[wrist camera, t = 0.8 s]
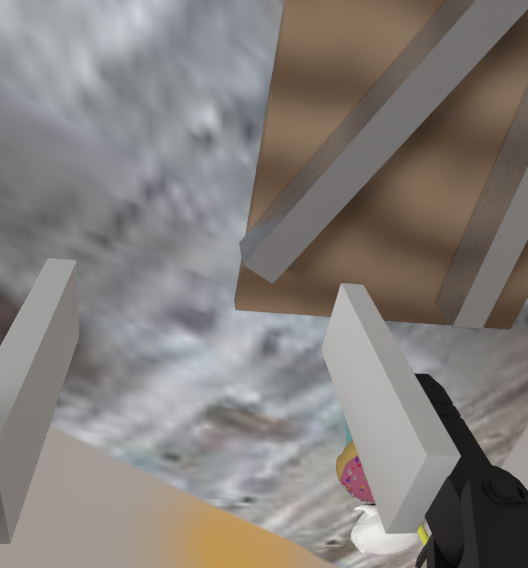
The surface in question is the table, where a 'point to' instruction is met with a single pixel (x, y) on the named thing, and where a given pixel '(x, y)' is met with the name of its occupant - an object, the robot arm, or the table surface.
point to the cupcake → (359, 478)
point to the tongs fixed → (491, 235)
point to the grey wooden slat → (377, 128)
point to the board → (395, 171)
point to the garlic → (378, 534)
